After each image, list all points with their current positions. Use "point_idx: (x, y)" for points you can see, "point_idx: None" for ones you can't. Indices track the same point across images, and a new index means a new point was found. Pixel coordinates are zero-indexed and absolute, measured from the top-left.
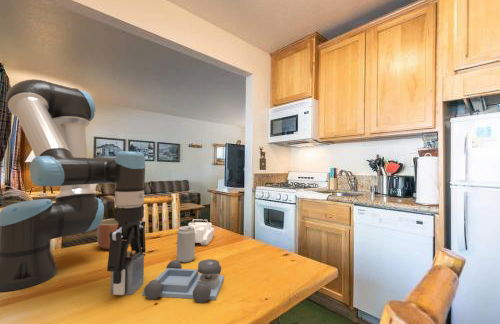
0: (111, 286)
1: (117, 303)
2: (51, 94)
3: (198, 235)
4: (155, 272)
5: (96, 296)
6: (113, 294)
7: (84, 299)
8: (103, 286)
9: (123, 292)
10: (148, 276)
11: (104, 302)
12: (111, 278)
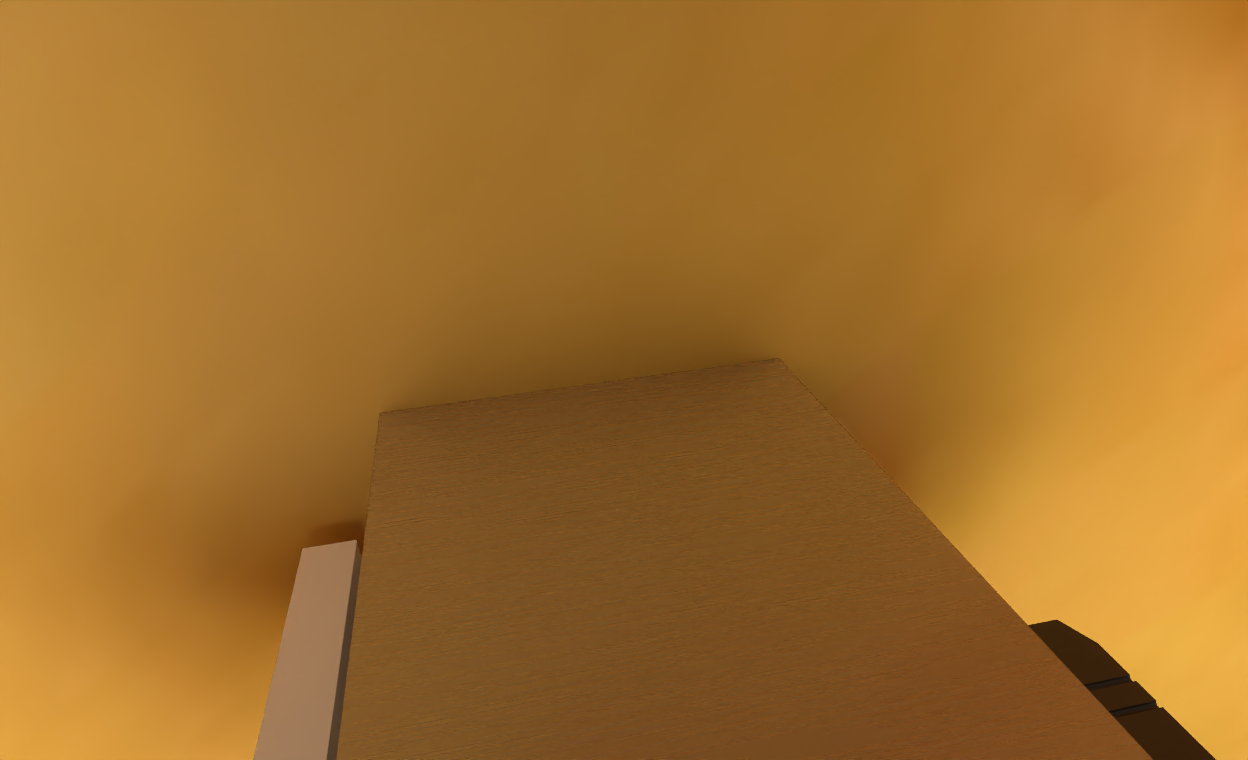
0: (375, 497)
1: (171, 708)
2: None
3: None
4: (1144, 577)
5: (209, 230)
6: (303, 553)
7: (5, 68)
8: (599, 50)
9: None
10: (1016, 568)
11: (106, 523)
12: (357, 612)
